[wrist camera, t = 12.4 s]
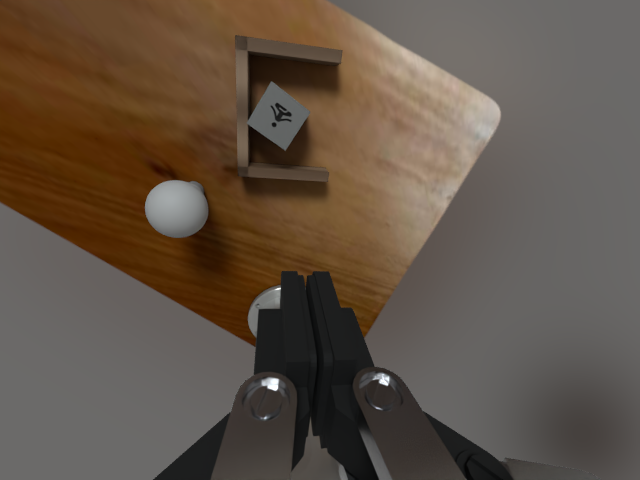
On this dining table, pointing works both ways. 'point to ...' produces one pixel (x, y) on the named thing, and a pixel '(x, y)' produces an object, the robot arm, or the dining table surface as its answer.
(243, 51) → the box
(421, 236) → the dining table surface
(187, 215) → the lightbulb
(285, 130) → the dice cube
